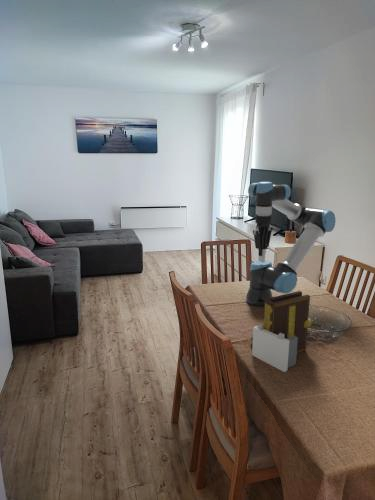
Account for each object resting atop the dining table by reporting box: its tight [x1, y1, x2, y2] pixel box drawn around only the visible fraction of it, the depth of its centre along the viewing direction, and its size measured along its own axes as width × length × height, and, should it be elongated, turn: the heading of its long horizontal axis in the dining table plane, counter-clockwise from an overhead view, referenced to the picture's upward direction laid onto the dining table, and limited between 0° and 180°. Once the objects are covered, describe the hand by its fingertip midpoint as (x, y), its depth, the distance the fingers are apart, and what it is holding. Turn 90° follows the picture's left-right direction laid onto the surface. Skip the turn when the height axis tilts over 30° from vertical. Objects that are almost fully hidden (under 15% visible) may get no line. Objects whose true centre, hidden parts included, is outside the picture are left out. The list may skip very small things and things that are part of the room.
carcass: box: [251, 323, 298, 373], centre depth 148 cm, size 8×16×15 cm, turn 40°
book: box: [263, 290, 312, 354], centre depth 152 cm, size 22×8×25 cm, turn 116°
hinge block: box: [250, 334, 253, 346], centre depth 162 cm, size 4×4×4 cm
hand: (261, 261), depth 182 cm, fingers closed
